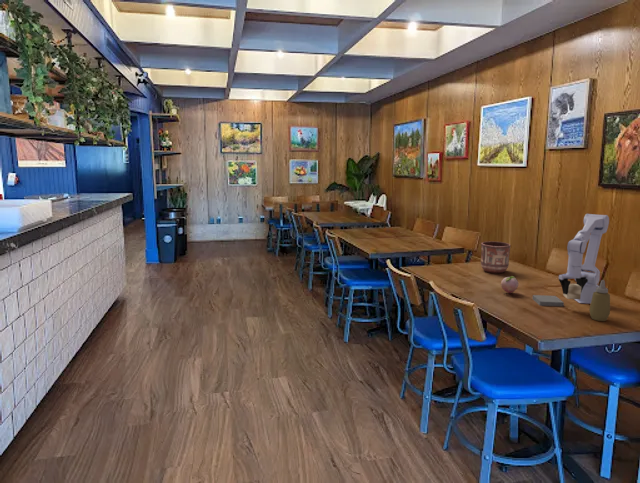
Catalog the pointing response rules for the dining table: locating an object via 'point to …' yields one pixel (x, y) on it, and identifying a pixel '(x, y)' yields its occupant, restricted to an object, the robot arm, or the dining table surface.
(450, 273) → the dining table surface
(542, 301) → the charcoal base
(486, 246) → the pottery
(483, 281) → the dining table surface
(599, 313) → the squeeze bottle
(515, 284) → the decorative fruit
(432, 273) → the dining table surface
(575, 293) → the birch cube
